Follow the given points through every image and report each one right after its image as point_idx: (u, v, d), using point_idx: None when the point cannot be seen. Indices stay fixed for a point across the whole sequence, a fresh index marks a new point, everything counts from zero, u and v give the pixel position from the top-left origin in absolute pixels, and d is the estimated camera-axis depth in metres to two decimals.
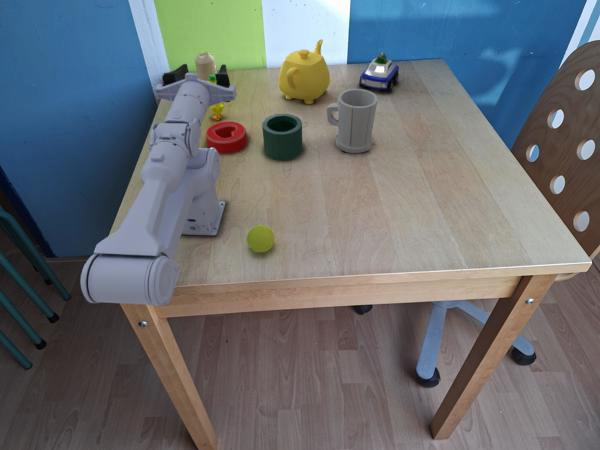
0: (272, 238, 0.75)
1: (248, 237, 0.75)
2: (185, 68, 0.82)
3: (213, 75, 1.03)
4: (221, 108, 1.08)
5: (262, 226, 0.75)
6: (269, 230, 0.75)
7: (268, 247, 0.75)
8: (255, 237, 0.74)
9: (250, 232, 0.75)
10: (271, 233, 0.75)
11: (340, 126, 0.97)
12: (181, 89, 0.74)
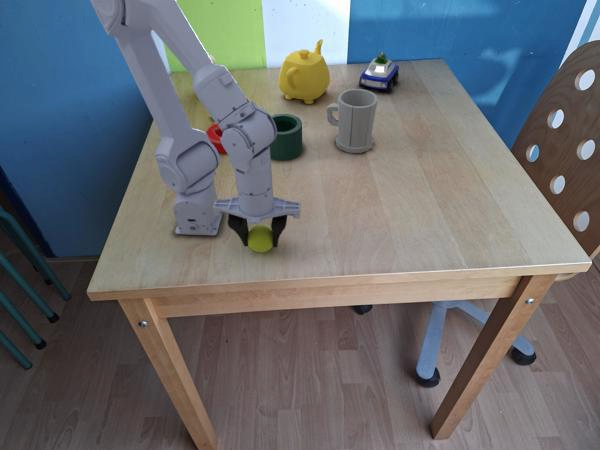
0: (272, 238, 0.75)
1: (248, 237, 0.75)
2: (273, 241, 0.76)
3: None
4: None
5: (262, 226, 0.75)
6: (269, 230, 0.75)
7: (268, 247, 0.75)
8: (255, 237, 0.74)
9: (250, 232, 0.75)
10: (271, 233, 0.75)
11: (340, 126, 0.97)
12: (261, 204, 0.67)
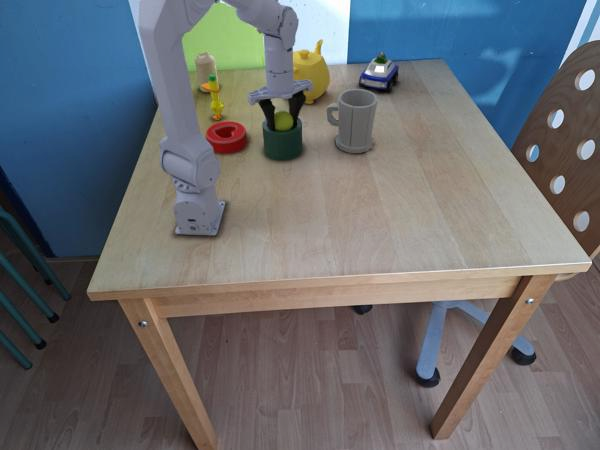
0: (292, 117, 0.95)
1: (275, 121, 0.94)
2: (293, 119, 0.96)
3: (213, 75, 1.03)
4: (221, 108, 1.08)
5: (282, 110, 0.95)
6: (288, 112, 0.95)
7: (292, 124, 0.95)
8: (282, 118, 0.93)
9: (275, 116, 0.94)
10: None
11: (340, 126, 0.97)
12: (290, 80, 0.87)
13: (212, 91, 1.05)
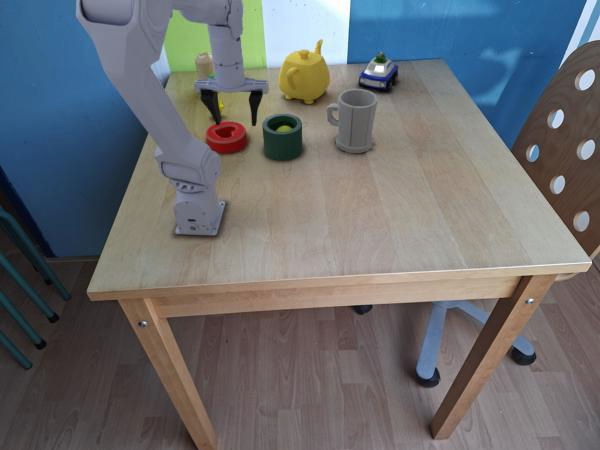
0: None
1: None
2: (220, 115, 0.90)
3: (213, 75, 1.03)
4: (221, 108, 1.08)
5: (286, 126, 0.99)
6: None
7: None
8: None
9: (280, 129, 0.97)
10: None
11: (340, 126, 0.97)
12: None
13: None
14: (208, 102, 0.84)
